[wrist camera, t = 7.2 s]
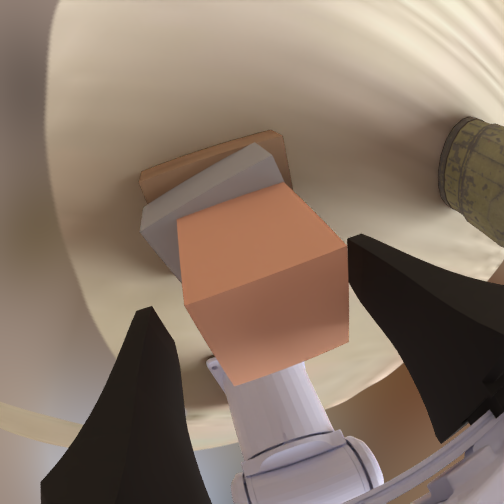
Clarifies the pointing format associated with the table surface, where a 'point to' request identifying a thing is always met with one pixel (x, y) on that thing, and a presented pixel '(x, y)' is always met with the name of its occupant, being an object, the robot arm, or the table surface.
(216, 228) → the terracotta block
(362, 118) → the table surface
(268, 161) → the tower middle
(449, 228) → the table surface
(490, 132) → the stone statue
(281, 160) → the tower base
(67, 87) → the table surface
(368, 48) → the table surface
